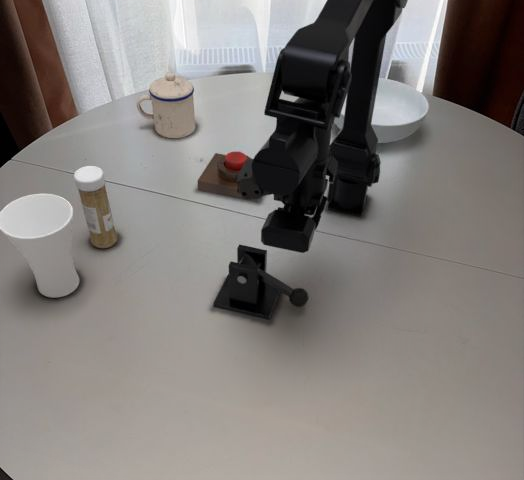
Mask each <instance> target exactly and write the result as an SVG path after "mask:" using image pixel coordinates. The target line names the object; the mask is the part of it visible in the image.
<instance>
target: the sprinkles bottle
mask: <svg viewBox="0 0 524 480" xmlns="http://www.w3.org/2000/svg"><path fill="white" fill-rule="evenodd" d="M73 180H74V183H75V187H76V189H77V190H78V194H79V198H80V204H81V207H82V211H83V214H84V219H85V222H86V226H87V229H88V233H89V235H90V243H91V244H92V246H94V247H96V248H98V249H109V248H111V247H112V246H114V245H115V244H116V243H117V241H118V235H117V232H116V228H115V222H114V218H113V214H112V213H113V212H112V209H111V204H110V200H109V198H108V192H107V188H106V177H105V173H104V171H103V169H101V168H100V167H98V166H95V165H86V166H82V167H80V168H78V169H77V170H76V171H75V172H74V174H73Z"/></svg>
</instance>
